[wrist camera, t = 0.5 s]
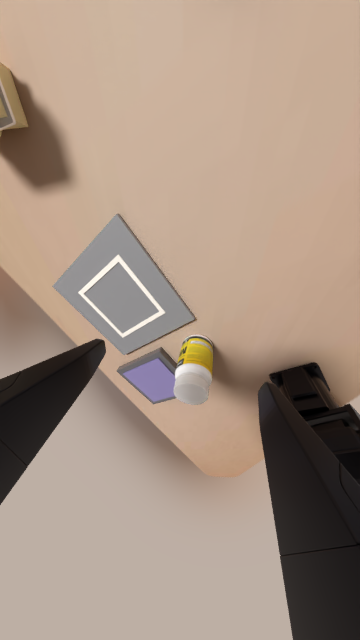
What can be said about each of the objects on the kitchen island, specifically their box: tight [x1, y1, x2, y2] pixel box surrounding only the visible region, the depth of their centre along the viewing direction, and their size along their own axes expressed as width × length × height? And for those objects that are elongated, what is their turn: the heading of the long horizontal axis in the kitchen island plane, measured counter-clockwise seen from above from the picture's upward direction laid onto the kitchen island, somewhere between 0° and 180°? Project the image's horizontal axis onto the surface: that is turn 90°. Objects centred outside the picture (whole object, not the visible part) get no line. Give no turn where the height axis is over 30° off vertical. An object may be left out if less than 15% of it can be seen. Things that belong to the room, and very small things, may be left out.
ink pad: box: [117, 348, 177, 404], centre depth 31 cm, size 11×11×1 cm
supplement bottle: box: [174, 335, 213, 405], centre depth 22 cm, size 5×5×8 cm
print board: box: [52, 214, 195, 355], centre depth 23 cm, size 15×15×1 cm
